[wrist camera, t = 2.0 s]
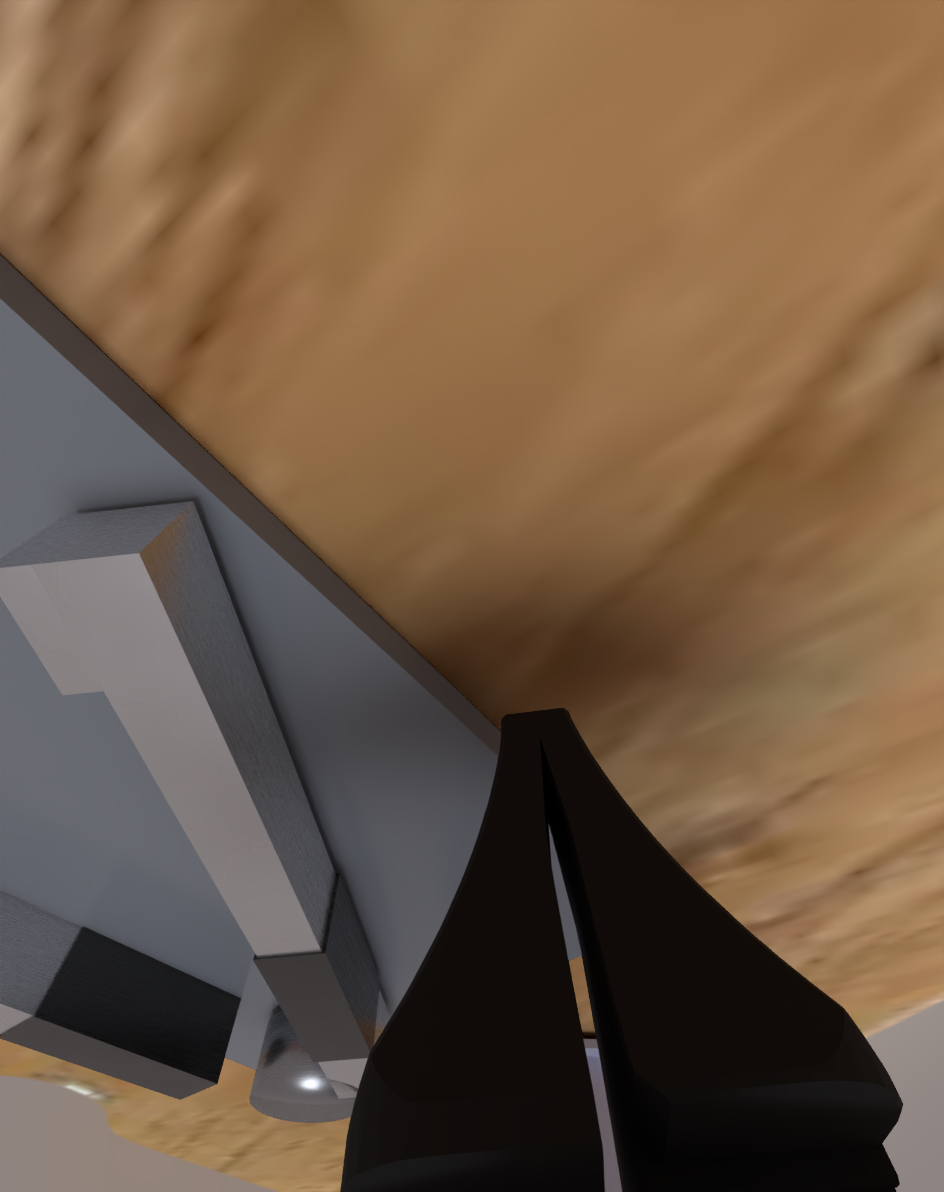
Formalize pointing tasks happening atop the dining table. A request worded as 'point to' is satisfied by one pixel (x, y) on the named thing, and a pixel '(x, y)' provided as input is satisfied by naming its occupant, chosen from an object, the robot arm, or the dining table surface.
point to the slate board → (288, 672)
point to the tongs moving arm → (211, 772)
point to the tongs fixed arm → (108, 1004)
